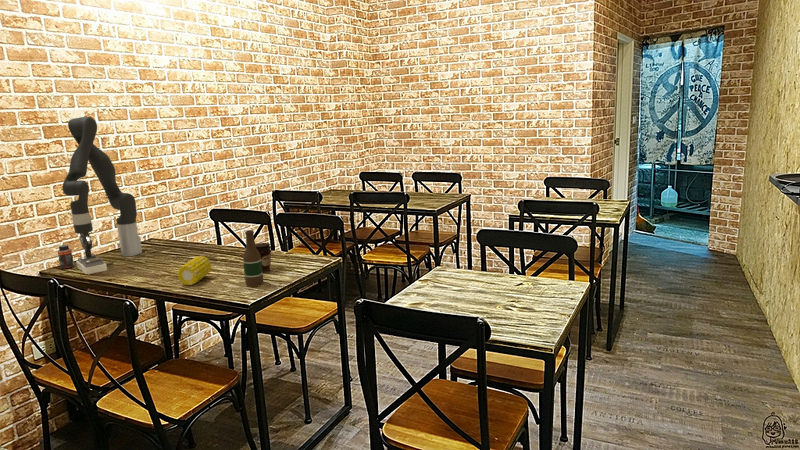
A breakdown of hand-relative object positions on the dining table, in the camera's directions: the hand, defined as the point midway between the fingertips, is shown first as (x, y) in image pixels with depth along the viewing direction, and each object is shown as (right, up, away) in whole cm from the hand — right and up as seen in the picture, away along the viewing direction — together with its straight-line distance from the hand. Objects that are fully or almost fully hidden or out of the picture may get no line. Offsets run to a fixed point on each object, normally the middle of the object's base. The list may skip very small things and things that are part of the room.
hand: (88, 257), depth 256 cm
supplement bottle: (-16, -6, +9) cm, 19 cm away
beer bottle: (+86, -10, -23) cm, 90 cm away
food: (+58, -10, -17) cm, 61 cm away
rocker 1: (-5, -1, +8) cm, 10 cm away
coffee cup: (+86, -6, -6) cm, 86 cm away
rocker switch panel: (0, -6, +8) cm, 9 cm away
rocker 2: (+1, -2, +2) cm, 3 cm away
